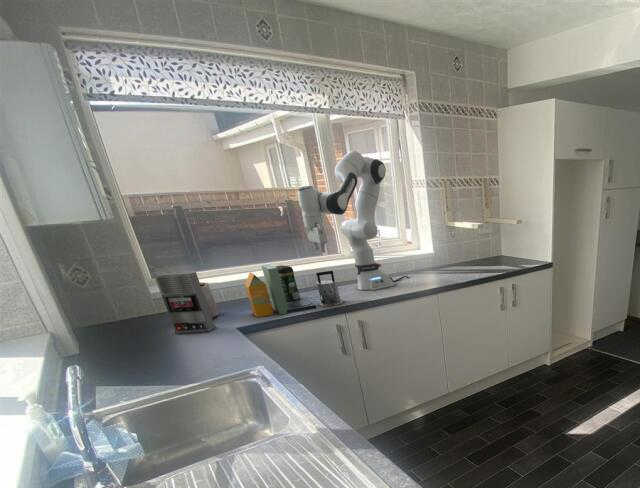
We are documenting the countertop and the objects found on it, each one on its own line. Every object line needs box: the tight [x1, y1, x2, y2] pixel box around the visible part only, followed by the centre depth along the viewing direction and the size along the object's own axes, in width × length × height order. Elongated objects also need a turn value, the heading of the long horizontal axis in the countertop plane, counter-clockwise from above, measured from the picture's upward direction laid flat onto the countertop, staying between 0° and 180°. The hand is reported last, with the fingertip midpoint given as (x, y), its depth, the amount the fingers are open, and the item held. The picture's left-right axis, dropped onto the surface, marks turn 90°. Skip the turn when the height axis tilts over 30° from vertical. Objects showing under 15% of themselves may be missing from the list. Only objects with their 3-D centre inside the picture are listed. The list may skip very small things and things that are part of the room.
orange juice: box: [244, 272, 275, 318], centre depth 205 cm, size 8×9×20 cm
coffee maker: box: [261, 263, 317, 315], centre depth 213 cm, size 18×15×22 cm
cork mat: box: [319, 299, 344, 307], centre depth 224 cm, size 12×12×1 cm
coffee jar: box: [275, 264, 301, 302], centre depth 230 cm, size 10×8×19 cm
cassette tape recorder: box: [153, 271, 216, 335], centre depth 181 cm, size 14×6×25 cm, turn 99°
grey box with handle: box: [315, 270, 342, 305], centre depth 220 cm, size 10×12×16 cm
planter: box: [200, 282, 220, 320], centre depth 201 cm, size 18×18×16 cm
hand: (320, 251), depth 213 cm, fingers open, 8 cm apart
